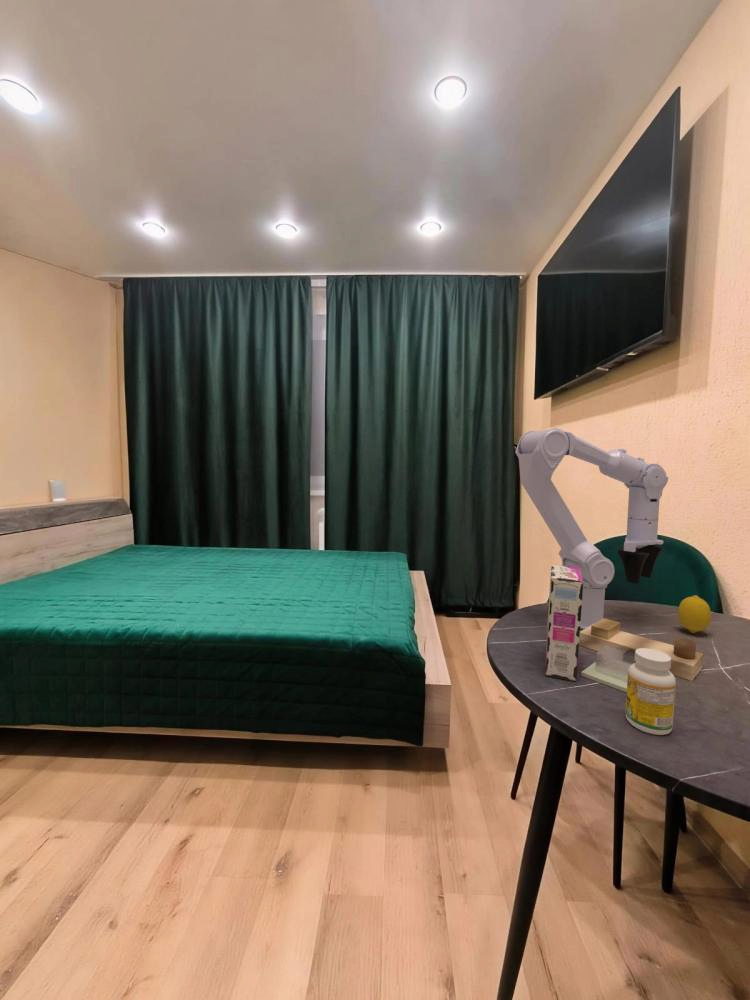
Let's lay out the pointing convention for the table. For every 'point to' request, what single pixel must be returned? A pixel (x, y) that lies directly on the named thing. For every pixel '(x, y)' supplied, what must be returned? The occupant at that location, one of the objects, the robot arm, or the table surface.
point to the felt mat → (604, 678)
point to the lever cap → (614, 662)
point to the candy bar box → (564, 622)
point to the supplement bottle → (651, 692)
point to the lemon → (694, 614)
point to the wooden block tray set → (644, 646)
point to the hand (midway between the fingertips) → (639, 579)
